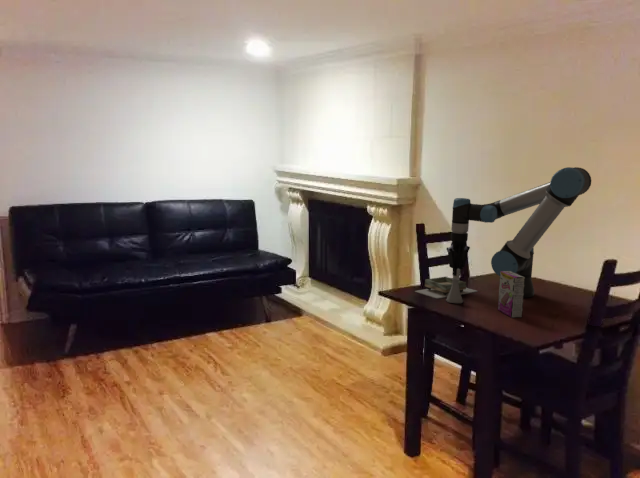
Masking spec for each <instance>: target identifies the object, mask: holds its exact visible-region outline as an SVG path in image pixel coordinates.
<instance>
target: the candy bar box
mask: <svg viewBox="0 0 640 478" xmlns="http://www.w3.org/2000/svg"><path fill="white" fill-rule="evenodd" d="M524 283H525V277H523V276H521V275H518V274H516V273H514V272H511V271H500V276H499V285H498V299H497V301H498V302H497V310H498V311H499V312H501V313H502V314H503V315H507V316H508V317H509V318H512V319H516V318H517V319H518V318H523V308H524V307H523V306H524V298H523V297H524Z"/></svg>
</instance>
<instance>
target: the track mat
mask: <svg viewBox="0 0 640 478" xmlns="http://www.w3.org/2000/svg"><path fill="white" fill-rule="evenodd" d="M414 293H417V294H420V295H423V296H427V297H430V298H432V299H435V300H436V299H437V300H438V299H443V298H447V297H448V294H449V292H448V293H447V295H445V294H443V292H442V291H438V290H435V289H432V288H431V290H429V289H427V288H425V289H418V290H414ZM460 293H461V296H462V295H467V294H473V293H478V290H476V289H472V288H468V287H466V289H464V290H463V292H460Z"/></svg>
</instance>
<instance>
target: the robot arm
mask: <svg viewBox="0 0 640 478" xmlns="http://www.w3.org/2000/svg"><path fill="white" fill-rule="evenodd" d="M591 186H592V177H591V174H590V173H589V171H588V170H586V169H584V168H582V167H577V166H576V167H564V168H561V169H559V170H557V171H556V172H555V173H554V174H553V176H551V179H550V182H549V181H548V182H547V183H544V184H540V185H537V186H536V187H535V186H534V187H532V188H530V189H526V190H524V191H521V192H519V193H516V194H513V195H510V196H508V197H505V198H502V199H500V200H499V199H498V200H496V201H494V202H490V203H484V204H478V203H475V204H474V203H471V202H472V201H471V199H470V198H465V197H457V198H454V200H453V204H452V217H451V218H452V219H451V229H450V230H451V232H450V240H451V243H450V246H449V247H446V251H447V258H448V266H449V268H451V269H452V278H457V279H460V276H461V272H462V271H461V270H463V269H464V267H465V266H466V262H467V257H468V255H469V254H468V253H469V251H470V250H471V247H470V245H469V246H468V245H467V241H468V236H469V233H468V232H469V226H470V221H474V222H481V223H485V224H486V223H487V224H488V223H494V222H495V221H496V220H498V219H500V218H503V217H505V216H508V215H510V214H511V215H512V214H515V213H517V212H520V211H523V210H525V209H529V208H532V207H535V206H537V205H538V206H537V207H536V208H535V210H534V211H533V212H532V214H530V217H529V218H528V219H527V221H526V222H525V223H524V224H523V226H522V227H521V229H519V231H518V232H517V233H516V235H515V236H514V238H513V239H512V240H510V239H509V240H506V242H505V243H504V245H503V246H502V247H501V249H500V250H498V251H496V252H495V253H494V254H493V255H492V258H491V260H490V264H491V269H492V270H493V272H494V273H495V274H496V275H498V277H500V271H511V272H514V273H516V274H518V275H521V276H523V277H525V283H524V297H523V299H524V298H525V299H526V298H531V297H535V288H534V285H533V284H534V283H533V279H532V274H533V264H534V263H533V261H534V254H535V252H534V247H535V246H536V244H537V243H538V242H539V241H540V239H542V237H543V236H544V234H545V233H546V232H547V231H548V229H549V228H550V227H551V225H552V224H553V223H554V221H555V220H556V219H557V218H558V216H559V215H560V214H561V212H562V211H563V210H564V209H565V208H568V207H571V206H572V204H573V203H575V201H576V200H577V198H578V197H580V196H581V195H583V194H586V193H587V192H588V191H589V190H590V188H591Z"/></svg>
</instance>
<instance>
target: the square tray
mask: <svg viewBox="0 0 640 478" xmlns="http://www.w3.org/2000/svg"><path fill="white" fill-rule="evenodd" d="M452 278H453V277H448V276H440V277H434V278H426V279H424V287H426V289H429V290H431V288H432V289H435V290H438V291H442V292H443V294H445V295H447V293H448V292H450V290H451V287H452ZM466 288H467V282H466V281H463V280H459V290H460V292H463V290H464V289H466Z"/></svg>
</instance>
